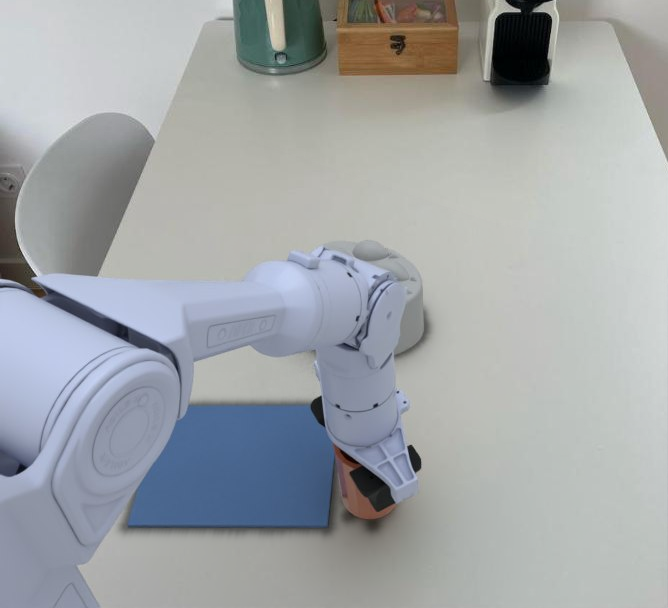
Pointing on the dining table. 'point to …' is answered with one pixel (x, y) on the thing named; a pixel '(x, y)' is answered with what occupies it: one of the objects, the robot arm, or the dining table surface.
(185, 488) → the towel
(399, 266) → the lumpy-topped squat cylinder
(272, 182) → the dining table surface
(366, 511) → the cup
